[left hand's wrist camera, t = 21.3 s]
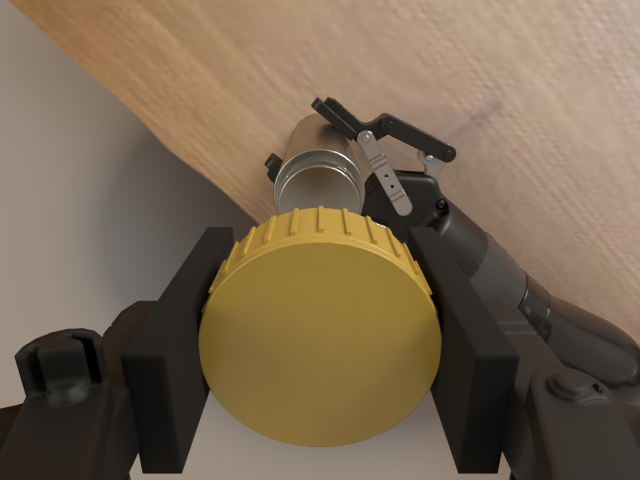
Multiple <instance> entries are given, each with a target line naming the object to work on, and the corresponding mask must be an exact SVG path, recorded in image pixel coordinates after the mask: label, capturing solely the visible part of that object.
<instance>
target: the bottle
mask: <svg viewBox="0 0 640 480" xmlns="http://www.w3.org/2000/svg"><path fill="white" fill-rule="evenodd" d="M273 193H274V202H275V206H276V209H277V211H278V213H279V216H280V215H282V214H285V213H289V212H293V211H294V209H295V208H299V210H302V209H311V208H319V206H323V208H330V209H337V210H343V208H345V209H348V212H351V213H355V214H358V215H361V212H362V208H363V205H364V200H365V185H364V181H363V178H362V175H361V173H360V170H359V168H358V165H357V162H356V160H355V157H354V155H353V152H352V149H351V147H350V144H349V142H348V139H347V137H346V136H345V135H343V134H342V133H341V132H340V131H339V130H338V129H337V128H335V127H334V126H333V125H332V124H331V123H330V122H328V121H327V120H326V119H325V118H324V117H323V116H322V115H320V114H313V115H310V116H307V117H306V118H304V119H303V120H302V121H301V122H300V123H299V124H298V125H297V127H296V129H295V131H294V134H293V136H292V139H291V141H290V144H289V146H288V149H287V151H286V154H285V157H284V159H283V162H282V164H281V167H280V169H279V172H278V174H277V177H276V180H275V184H274V192H273Z"/></svg>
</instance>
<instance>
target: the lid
mask: <svg viewBox="0 0 640 480" xmlns="http://www.w3.org/2000/svg"><path fill="white" fill-rule="evenodd" d="M208 293H210V295H209V297H208V299H207V301H206V303H205V305H204V307H203V309H202V318H201V322H200V327H199V332H198V342H199V352H200V361H201V368H202V372H203V375H204V377H205V379H206V382H207V384H208V386H209V388H210V389H211V391H212V393H213V394H214V396H215V397H216V399H217V400H218V401H219V402H220V404H221V405H222V406H223V407H224V408H225V409H226V410H227V411H228V412H229V413H230V414H231V415H232V416H233V417H234V418H236V419H237V420H238V421H240V422H241V423H242V424H244V425H245V426H247V427H249V428H250V429H252V430H254V431H255V432H257V433H259V434H262V435H264V436H266V437H268V438H271V439H274V440H277V441H280V442H284V443H288V444H293V445H298V446H307V447H333V446H342V445H347V444H352V443H356V442H360V441H363V440H366V439H369V438H371V437H374V436H376V435H378V434H381V433H383V432H385V431H386V430H388V429H390V428H392V427H393V426H395V425H396V424H398V423H399V422H400V421H402V420H403V419H405V418H406V417H407V416H408V415H409V414H410V413H411V412H412V411H413V410H414V409H415V408H416V407H417V406H418V405H419V404H420V402H421V401H422V400H423V399H424V397H425V396H426V394H427V393H428V391H429V390H430V388H431V386H432V384H433V382H434V379H435V377H436V375H437V372H438V368H439V363H440V354H441V345H442V332H441V327H440V321H439V318H438V311H437V309H436V307H435V304H434V302H433V300H432V298H431V296H430V295H432V292H431V290H430V288H429V286H428V284H427V282H426V280H425V278H424V275H423V273H422V271H421V269H420V267H419V265H418V263H417V261H414V260H413V258H412V256H411V254H410V252H409V250H408V248H407V246H406V244H405V243H403V244H401V243H400V242H399V241H398V240H397V239H396V238H395V237H394V236H393V235H392V232H391V230H390V229H389V228H388V227H387V228H386V229H385V228H383V227H382V226H380V225H379V224H377V223H375V222H373V221H372V220H371V217H369V216H366V218H365V217H363V216H360V215H358V214H355V213H351V212H348V209H345V208H343V210H337V209H330V208H323V206H319V208H311V209H302V210H299V208H295V209H294V211H293V212H289V213H285V214H282V215H280V216H277V217H276V216H275V215H273V216H271V219H270V220H269V221H267V222H265V223H263V224H261V225H260V226H258V227H257V228H255V227H252V228H251V230H250V232H249V234H248V235H247V236H246V237H245V238H244V239H243V240H242V241H241V242H240V243H239V242H236V243H235V244H234V247H233V249H232V251H231V253H230V255H229V257H228V259H227V260H225V259H224V261H223V263H222V265H221V267H220V269H219V271H218V274H217V276H216V278H215V280H214V282H213V284H212V286H211V288H210V290H209V292H208Z"/></svg>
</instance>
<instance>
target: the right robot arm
mask: <svg viewBox="0 0 640 480" xmlns="http://www.w3.org/2000/svg"><path fill="white" fill-rule="evenodd" d="M311 106H312V107H313V108H314V109H315V110H316V111H317V112H318V113H319V114H320V115H322V116H323V117H324V118H325V119H326V120H327V121H328V122H330V123H331V124H332V125H333V126H334V127H335V128H337V129H338V130H339V131H340V132H341V133H342V134H343V135H345V136H346V137H347V138H348V139H349V140H350V141H351V140H352V139H354V140H355V141H356V142H357V143H358V144H359V146H360V147H361V149H362V151H363V153H364V154H365V156H366V158H367V160H368V162H369V163H370V165H371V167H372V169H373V171H374V172H375V173H374V172H373V173H372V174H371V175H370V176H369V178H368V179H367V180H366V182H365V184H364V185H365V200H364V205H363V208H362V212H361V215H360V216H363V217H365V218H366V216H369V217H371V220H372V221H373V222H375V223H377V224H379V225H380V226H382V227H383V228H385V229H386V228H387V227H388V228H389V229H390V230H391V232H392V235H393V236H394V237H395V238H396V239H397V240H398V241H399V242H400V243H401V244H403V243H405V244H406V243H407V229H408V227H433V229H434V230H435V232H436V233H437V235H438V236H439V238H440V239H441V241H442V242H443V244H444V245H445V246H446V248H447V249H448V251H449V252H450V254H451V255H452V257H453V258H454V260H455V261H456V263H457V264H458V266H459V267H460V268H461V270H462V271H463V273H464V274H465V276H466V277H467V279H468V280H469V282H470V283H471V285H472V286H473V288H474V289H475V290H476V292H477V293H478V295H479V296H480V298H481V299H502V300H504V301H506V302H507V303H509V304H510V305H512V306H514V307H515V308H517V309H518V310H520V312H521V313H522V314H523V315H524V317H525V318H526V319H527V320H528V322H529V325H532V327H533V328H534V329H535V330H536V332H537V335H540V337H541V338H542V339H543V340H544V342H545V343H546V344H547V345H548V346H549V348H550V349H551V350H552V351H553V353H554V354H555V355H556V356H557V358H558V359H559V360H560V361H561V363H562V364H563V365H564V366H565V367H568V368H571V369H575V370H579V371H581V372H583V373H586V374H588V375H590V376H592V377H594V378H596V379H597V380H598V381H600V382H601V383H602V384H604V385H605V386H606V387H607V388H608V389H609V390H610V392H611V393H612V394H613V396H614V397H615V400H616V401H618V402H622V403H625V404H630V405H635V406H640V346H639V345H638V344H637V343H636V342H635V340H634V339H633V338H631V337H630V336H629V335H628V334H627V333H626V332H624V331H623V330H621V329H620V328H619V327H617V326H616V325H614V324H612V323H610V322H609V321H607V320H605V319H603V318H601V317H599V316H596V315H594V314H592V313H590V312H588V311H586V310H584V309H581V308H579V307H577V306H575V305H573V304H571V303H569V302H567V301H564V300H562V299H559V298H557V297H554V296H552V295H551V294H550V293H549V292H548V291H546V290H545V289H544V288H543V287H542V286H541V285H540V284H539V283H538V282H536V281H535V280H534V279H533V278H532V277H531V276H530V275H528V274H527V273H526V272H525V271H524V270H523V269H522V268H521V267H520V266H519V265H518V264H517V263H516V262H515V261H514V259H513V258H512V257H511V256H510V255H509V254H508V252H507V251H506V250H505V249H504V248H503V247H501V246H500V245H499V244H498V243H497V242H496V241H495V240H494V239H493V237H492V236H491V235H489V234H488V233H486V232H484V231H483V230H482V229H481V228H480V227H479V226H478V225H477V224H475V223H474V222H473V221H472V220H471V219H470V218H469V217H467V216H466V215H465V214H464V213H463V212H462V211H461V210H460V209H458V208H457V207H456V206H455V205H454V204H453V203H452V202H450V201H449V200H448V199H447V198H446V197H445V196H444V195H443V194H442V193H441V191H440V189H439V185H438V183H437V181H436V179H437V177H438V175H439V174H440V172H441V170H442V168H443V167H444V165H445V163H446V162H451V161H452V160H453V159H454V158H455V156H456V150H455V149H454V148H453V147H452V146H450V145H449V144H447V143H445V142H444V141H442V140H440V139H438V138H436V137H434V136H432V135H430V134H428V133H426V132H424V131H422V130H420V129H418V128H416V127H414V126H412V125H410V124H408V123H406V122H404V121H402V120H400V119H398V118H396V117H394V116H392V115H390V114H387V113H383V114H381V115H380V116H379V117H378V118H376V119H374V120H373V121H371V122H368V123H363V122H361V121H359V120H358V119H357V118H356V117H354V116H353V115H352V114H351V113H350V112H349V111H348V110H347V109H345V108H344V107H343V106H342V105H341V104H340V103H339V102H338V101H336V100H335V99H333V98H330V97H328V98H327V99H326V100H325V101H324V102H323V101H322V100H321V99H320V98H318V97H317V98H316V99H315V100H314V102H313V103H312V104H311ZM386 135H390V136H392V137H394V138H396V139H398V140H400V141H402V142H404V143H406V144H409V145H411V146H413V147H415V148H417V149H419V150H418V152H417V157H418V159H419V160H420V161H421V162H422V163H423V164H424V171H423V172H417V171H403V170H392V168H391V166H390V164H389V162H388V161H387V159H386V157H385V155H384V154H383V152H382V150H381V148H380V146H379V145H378V143H377V140H379V139H381V138H382V137H384V136H386ZM282 162H283V160H281V159H280V158H279V157H278V156H276V155H275V154H273V153H272V154H271V155H270V157H269V158H268V159H267V160H266V162H265V165H266V167H267V168H268V169H269V171H268V173H267V175H268V177H269V179H270V180H271V181H272V182H273V183H275V180H276V177H277V174H278V172H279V169H280V167H281V164H282Z"/></svg>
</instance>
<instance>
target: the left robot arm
mask: <svg viewBox="0 0 640 480" xmlns="http://www.w3.org/2000/svg"><path fill="white" fill-rule="evenodd" d="M406 246H407V248H408V250H409V252H410V254H411V256H412V258H413V260H414V261H417V263H418V265H419V267H420V269H421V271H422V273H423V275H424V278H425V280H426V282H427V284H428V286H429V288H430V290H431V292H432V295H430V296H431V298H432V300H433V302H434V304H435V307H436V309H437V311H438V318H439V321H440V327H441V332H442V345H441V354H440V363H439V368H438V372H437V375H436V377H435V379H434V382H433V384H432V386H431V388H430V390H431V393H432V396H433V399H434V402H435V405H436V408H437V411H438V414H439V417H440V420H441V423H442V426H443V429H444V432H445V435H446V438H447V441H448V444H449V447H450V450H451V453H452V456H453V459H454V461H455V465H456V467H457V471H458V473H459V474H497V473H498V468H499V463H500V457H501V453H502V451H503V454H504V456H505V458H506V460H507V462H508V464H509V466H510V468H511V474H510V479H509V480H640V406H635V405H630V404H625V403H622V402H618V401H616V400H615V397H614V396H613V394H612V393H611V392H610V390H609V389H608V388H607V387H606V386H605V385H604V384H602V383H601V382H600V381H598V380H597V379H596V378H594V377H592V376H590V375H588V374H586V373H583V372H581V371H579V370H575V369H571V368H568V367H565V366H564V365H563V364H562V363H561V361H560V360H559V359H558V358H557V356H556V355H555V354H554V353H553V351H552V350H551V349H550V348H549V346H548V345H547V344H546V343H545V342H544V340H543V339H542V338H541V337H540V335H537V332H536V330H535V329H534V328H533V327H532V325H529V322H528V320H527V319H526V318H525V317H524V315H523V314H522V313H521V312H520V310H518V309H517V308H515V307H514V306H512V305H510V304H509V303H507V302H506V301H504V300H502V299H481V298H480V296H479V295H478V293H477V292H476V290H475V289H474V288H473V286H472V285H471V283H470V282H469V280H468V279H467V277H466V276H465V274H464V273H463V271H462V270H461V268H460V267H459V266H458V264H457V263H456V261H455V260H454V258H453V257H452V255H451V254H450V252H449V251H448V249H447V248H446V246H445V245H444V244H443V242H442V241H441V239H440V238H439V236H438V235H437V233H436V232H435V230H434V229H433V227H408V229H407V243H406ZM233 247H234V239H233V228H232V227H208V228H207V229H206V231H205V232H204V234H203V235H202V237H201V238H200V240H199V241H198V243H197V244H196V245H195V247H194V249H193V250H192V251H191V253H190V254H189V256H188V257H187V259H186V260H185V262H184V263H183V265H182V266H181V267H180V269H179V270H178V272H177V273H176V275H175V276H174V278H173V279H172V281H171V282H170V284H169V285H168V287H167V288H166V289H165V291H164V292H163V294H162V295H161V297H160V298H159V300H158V301H137V302H136V303H134V304H133V305H131V306H129V307H128V308H126V309H125V310H123V311H121V313H120V314H119V315H118V316H117V318H116V319H115V320H114V322H113V323H112V326H110V327H109V328H108V329H107V330H106V332H105V333H104V334H103V337H101V336H100V335H99V334H98V333H97V332H95V331H93V330H89V329H84V328H78V329H65V330H61V331H56V332H52V333H49V334H47V335H44V336H42V337H39V338H36V339H35V340H33V341H32V342H30V343H28V344H27V345H25V346H23V347H22V348H21V349H20V350H19V352H18V353H17V354H16V355H15V356H14V357H15V360H16V364H17V367H18V370H19V374H20V377H21V381H22V384H23V387H24V391H25V394H26V398H25V400H24V403H22V404H19V405H15V406H10V407H5V408H1V409H0V480H131V479H130V474H129V472H130V469H131V467H132V465H133V463H134V461H135V459H136V457H137V454H138V452H139V456H140V462H141V467H142V472H143V474H181V473H182V471H183V468H184V465H185V462H186V459H187V457H188V453H189V450H190V448H191V445H192V442H193V438H194V436H195V433H196V430H197V427H198V424H199V421H200V418H201V415H202V412H203V409H204V406H205V403H206V400H207V397H208V394H209V391H210V388H209V386H208V384H207V382H206V379H205V377H204V375H203V372H202V368H201V361H200V352H199V342H198V332H199V327H200V322H201V318H202V309H203V307H204V305H205V303H206V301H207V299H208V297H209V295H210V293H208V292H209V290H210V288H211V286H212V284H213V282H214V280H215V278H216V276H217V274H218V271H219V269H220V267H221V265H222V263H223V261H224V259H225V260H227V259H228V257H229V255H230V253H231V251H232V249H233Z"/></svg>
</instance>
